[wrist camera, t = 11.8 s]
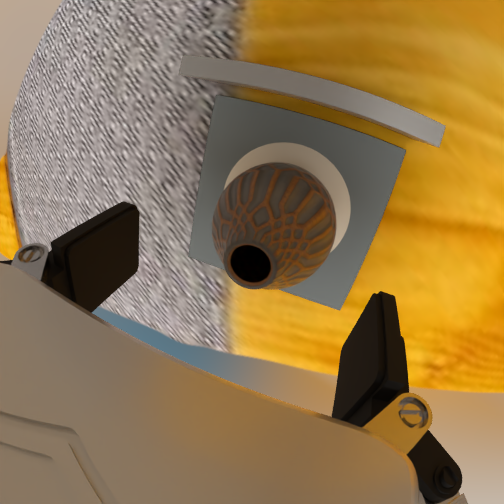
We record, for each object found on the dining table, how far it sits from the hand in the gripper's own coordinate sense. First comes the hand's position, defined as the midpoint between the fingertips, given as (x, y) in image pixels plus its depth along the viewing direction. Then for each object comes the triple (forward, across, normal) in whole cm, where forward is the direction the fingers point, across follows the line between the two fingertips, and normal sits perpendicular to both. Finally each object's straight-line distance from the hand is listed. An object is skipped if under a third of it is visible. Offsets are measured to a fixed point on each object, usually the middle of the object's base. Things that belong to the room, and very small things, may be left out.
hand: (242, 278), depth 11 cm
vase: (+11, 0, +1) cm, 11 cm away
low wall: (+11, 0, -7) cm, 13 cm away
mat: (+11, 0, +1) cm, 11 cm away
